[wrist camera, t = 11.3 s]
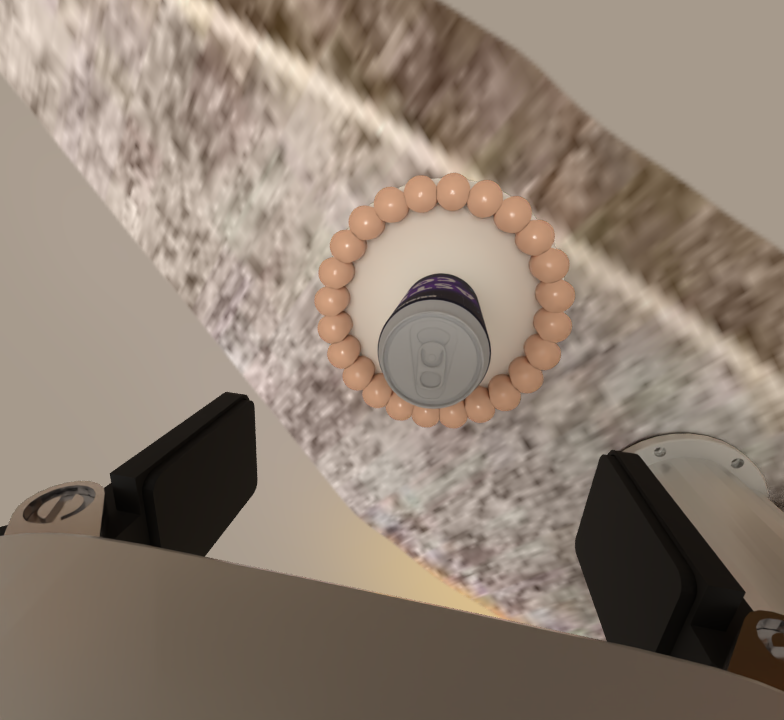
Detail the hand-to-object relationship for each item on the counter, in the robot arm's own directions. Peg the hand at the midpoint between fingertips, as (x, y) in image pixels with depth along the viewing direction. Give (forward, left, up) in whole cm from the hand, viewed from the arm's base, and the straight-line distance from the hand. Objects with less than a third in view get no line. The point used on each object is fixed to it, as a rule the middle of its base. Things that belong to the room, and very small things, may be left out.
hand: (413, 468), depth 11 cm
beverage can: (0, 0, -21) cm, 21 cm away
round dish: (0, 0, -22) cm, 22 cm away
